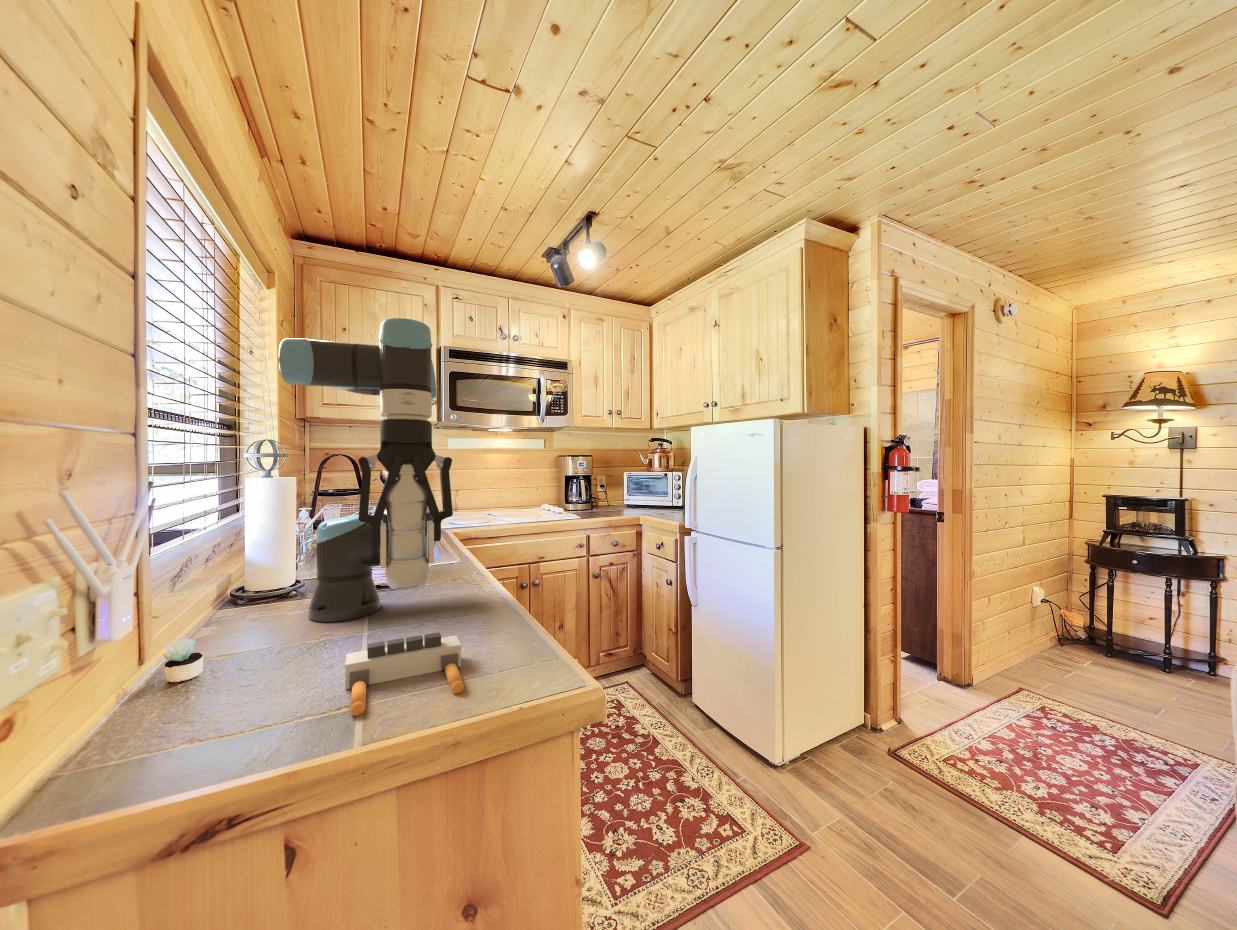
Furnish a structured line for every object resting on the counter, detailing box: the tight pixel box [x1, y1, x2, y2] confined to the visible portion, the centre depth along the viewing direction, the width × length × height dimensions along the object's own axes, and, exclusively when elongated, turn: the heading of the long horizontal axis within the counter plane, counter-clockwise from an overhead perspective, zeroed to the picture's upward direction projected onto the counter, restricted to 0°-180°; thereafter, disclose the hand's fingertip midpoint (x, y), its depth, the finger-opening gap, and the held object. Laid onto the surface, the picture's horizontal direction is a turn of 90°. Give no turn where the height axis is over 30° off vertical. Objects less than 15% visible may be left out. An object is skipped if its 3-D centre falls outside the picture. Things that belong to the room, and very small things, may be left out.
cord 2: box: [444, 663, 465, 695], centre depth 79 cm, size 9×2×2 cm, turn 28°
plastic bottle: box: [384, 463, 430, 590], centre depth 75 cm, size 6×7×20 cm
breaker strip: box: [344, 632, 462, 690], centre depth 83 cm, size 6×18×6 cm, turn 117°
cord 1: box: [349, 681, 367, 717], centre depth 72 cm, size 9×2×2 cm, turn 27°
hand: (407, 563), depth 75 cm, fingers closed on plastic bottle, 6 cm apart
